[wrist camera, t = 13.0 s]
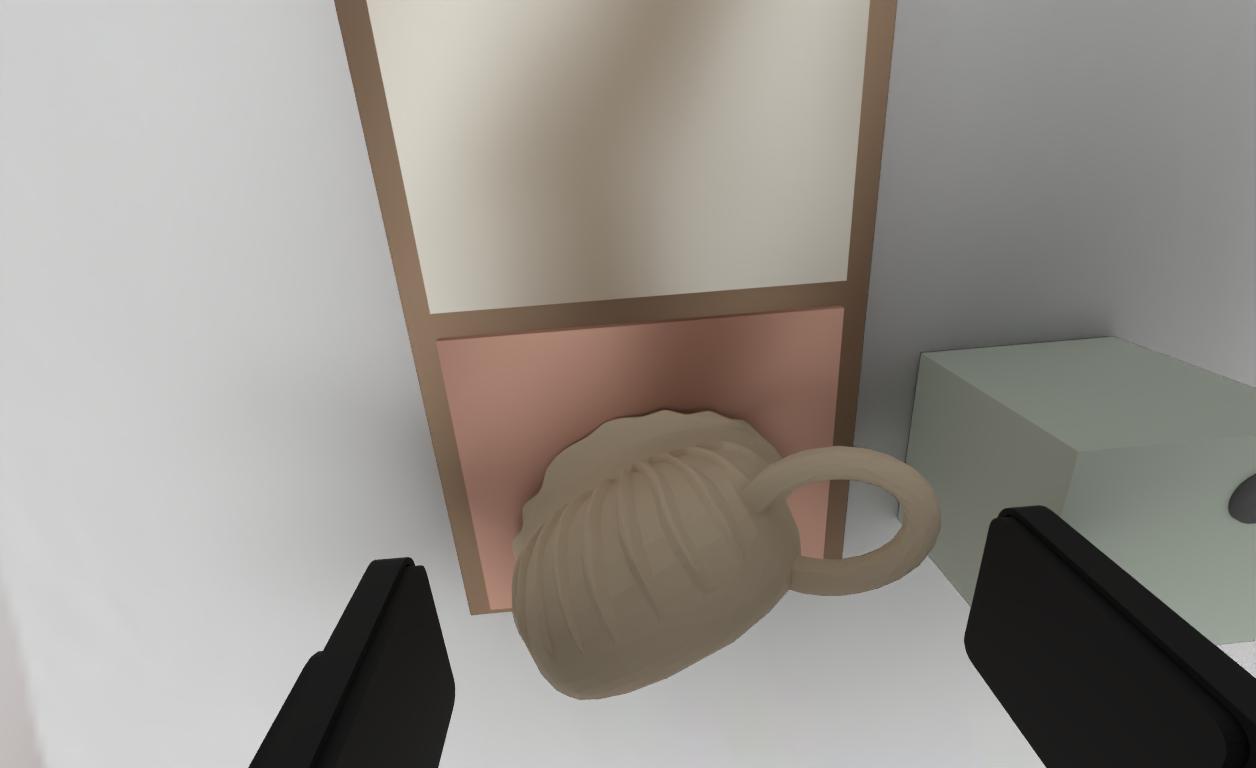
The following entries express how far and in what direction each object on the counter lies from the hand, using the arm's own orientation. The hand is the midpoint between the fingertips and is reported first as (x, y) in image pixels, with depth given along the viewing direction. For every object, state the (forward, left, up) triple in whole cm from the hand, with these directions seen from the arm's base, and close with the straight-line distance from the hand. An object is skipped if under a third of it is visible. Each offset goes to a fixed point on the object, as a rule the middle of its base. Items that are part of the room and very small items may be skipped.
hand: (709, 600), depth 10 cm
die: (-9, +1, -6) cm, 11 cm away
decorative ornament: (0, +1, -5) cm, 5 cm away
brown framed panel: (+1, -4, -6) cm, 7 cm away
